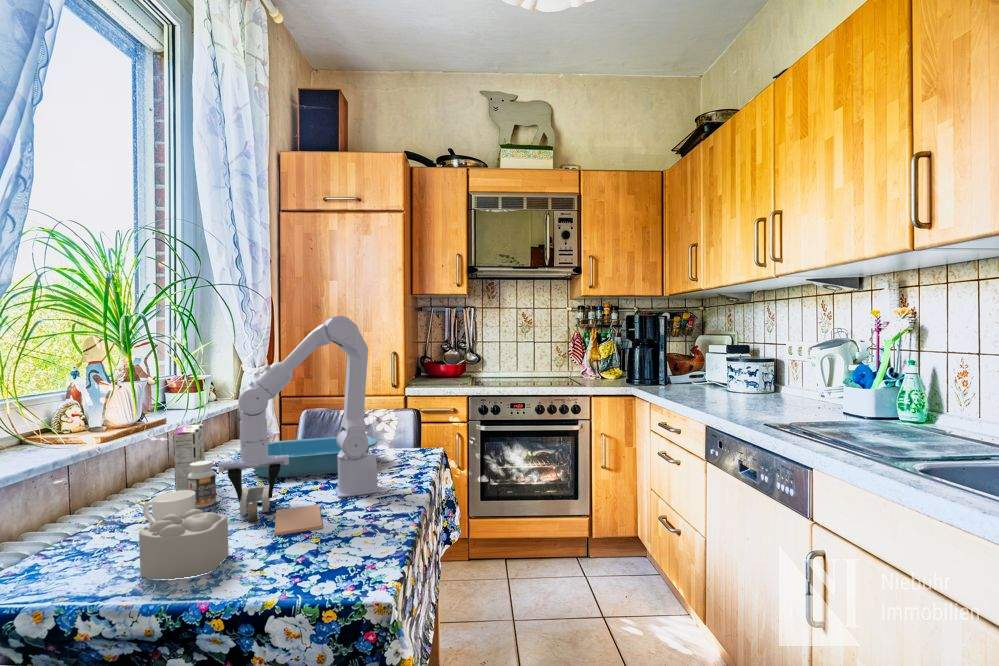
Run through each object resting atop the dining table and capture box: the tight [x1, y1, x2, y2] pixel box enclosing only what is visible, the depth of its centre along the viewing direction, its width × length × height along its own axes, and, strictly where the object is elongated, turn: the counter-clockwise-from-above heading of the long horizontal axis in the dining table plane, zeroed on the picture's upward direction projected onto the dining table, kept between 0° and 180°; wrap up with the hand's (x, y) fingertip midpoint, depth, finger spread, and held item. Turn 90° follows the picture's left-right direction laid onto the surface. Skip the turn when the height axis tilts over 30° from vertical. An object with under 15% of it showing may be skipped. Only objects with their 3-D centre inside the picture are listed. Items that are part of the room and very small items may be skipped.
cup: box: [142, 490, 196, 524], centre depth 107 cm, size 8×10×7 cm
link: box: [239, 484, 271, 516], centre depth 117 cm, size 6×10×3 cm, turn 22°
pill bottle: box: [187, 460, 217, 509], centre depth 121 cm, size 6×6×10 cm
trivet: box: [273, 503, 323, 537], centre depth 110 cm, size 9×14×1 cm, turn 22°
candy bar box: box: [172, 423, 206, 491], centre depth 131 cm, size 11×5×16 cm, turn 20°
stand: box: [247, 501, 259, 524], centre depth 109 cm, size 2×2×4 cm
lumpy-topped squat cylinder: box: [138, 508, 229, 579], centre depth 89 cm, size 10×13×9 cm
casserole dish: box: [253, 435, 378, 479], centre depth 152 cm, size 37×22×7 cm, turn 102°
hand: (255, 498), depth 118 cm, fingers closed on link, 6 cm apart
